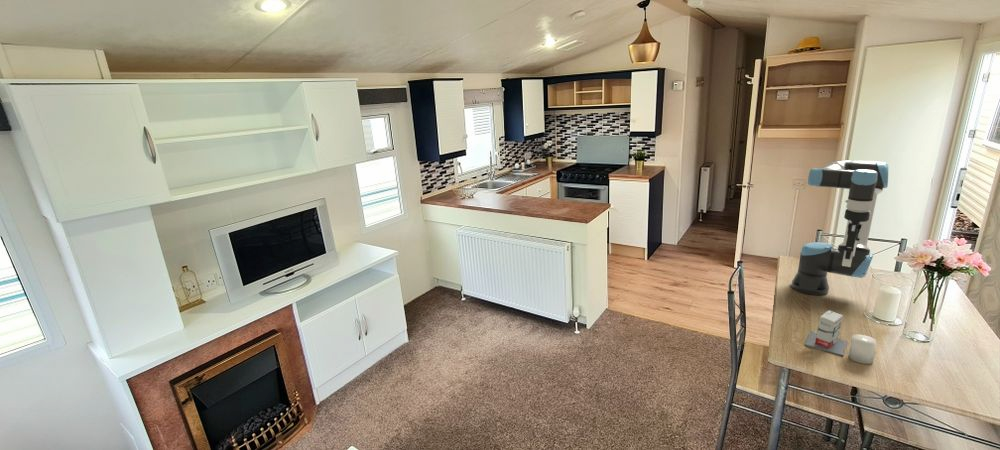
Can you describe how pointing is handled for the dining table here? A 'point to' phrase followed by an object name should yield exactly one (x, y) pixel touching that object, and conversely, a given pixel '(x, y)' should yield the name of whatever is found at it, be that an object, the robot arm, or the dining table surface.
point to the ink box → (828, 329)
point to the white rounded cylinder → (862, 349)
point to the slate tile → (834, 349)
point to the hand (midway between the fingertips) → (848, 260)
